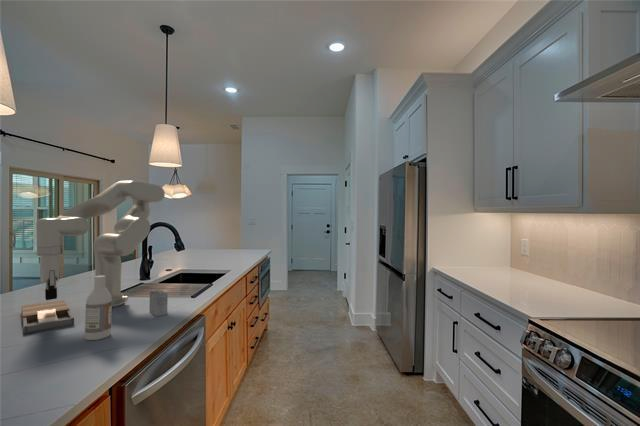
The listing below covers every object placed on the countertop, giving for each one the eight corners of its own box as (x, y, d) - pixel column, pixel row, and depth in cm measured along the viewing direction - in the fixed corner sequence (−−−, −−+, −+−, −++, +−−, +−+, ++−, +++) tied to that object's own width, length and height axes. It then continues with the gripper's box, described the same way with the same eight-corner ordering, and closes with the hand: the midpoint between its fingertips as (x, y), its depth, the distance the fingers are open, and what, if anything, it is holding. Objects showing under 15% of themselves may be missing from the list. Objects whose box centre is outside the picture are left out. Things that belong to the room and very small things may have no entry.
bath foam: (108, 339, 98) (110, 277, 99) (82, 342, 95) (84, 278, 96) (112, 331, 105) (114, 273, 105) (87, 334, 102) (89, 274, 102)
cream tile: (38, 322, 104) (38, 328, 104) (57, 319, 107) (57, 325, 107) (38, 319, 107) (38, 324, 107) (56, 316, 111) (56, 321, 111)
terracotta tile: (37, 316, 112) (37, 311, 111) (55, 313, 115) (55, 308, 115) (37, 324, 108) (37, 319, 108) (56, 320, 112) (56, 316, 111)
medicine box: (167, 314, 124) (168, 293, 124) (155, 316, 121) (156, 295, 121) (160, 310, 129) (161, 289, 129) (148, 312, 126) (149, 291, 126)
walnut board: (21, 313, 120) (21, 305, 120) (64, 307, 130) (64, 300, 130) (22, 324, 109) (22, 316, 109) (69, 316, 118) (69, 309, 118)
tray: (22, 324, 109) (23, 317, 109) (69, 316, 118) (69, 310, 118) (23, 334, 100) (24, 326, 100) (73, 325, 110) (74, 318, 110)
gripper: (35, 249, 117) (36, 296, 117) (38, 254, 106) (39, 306, 107) (61, 247, 122) (61, 292, 122) (65, 252, 111) (66, 301, 112)
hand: (51, 298), depth 115 cm, fingers closed
